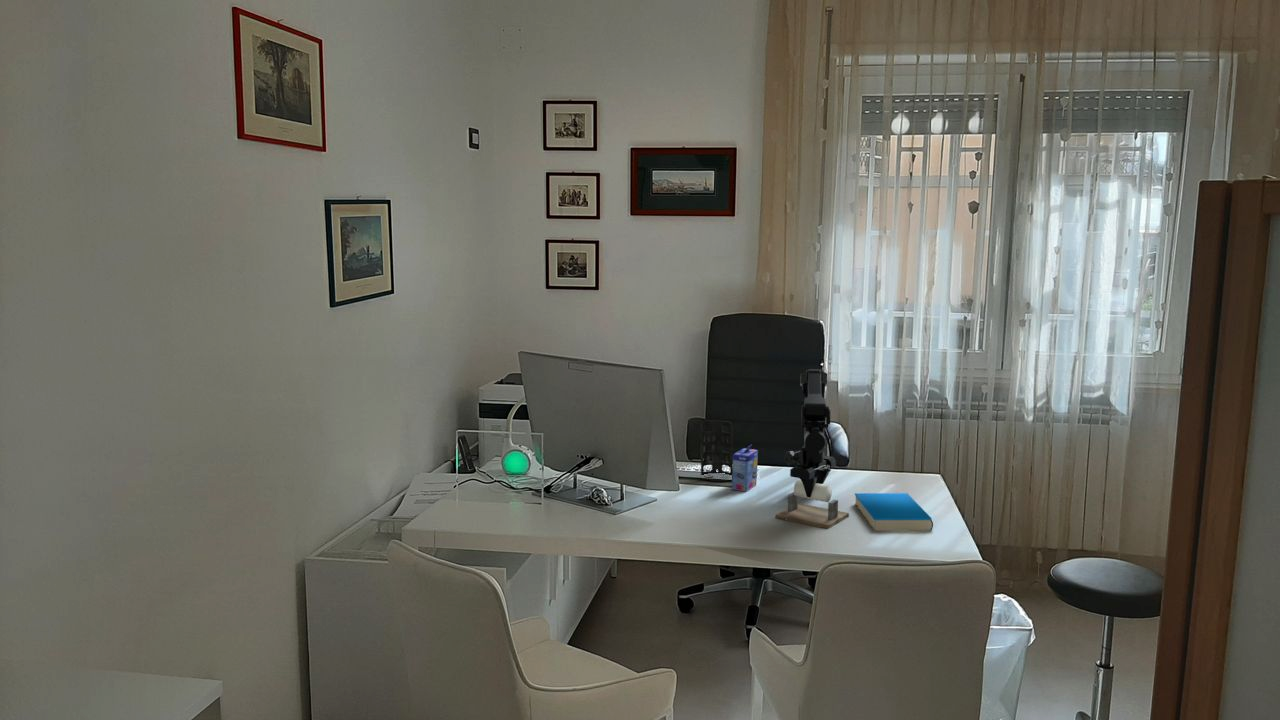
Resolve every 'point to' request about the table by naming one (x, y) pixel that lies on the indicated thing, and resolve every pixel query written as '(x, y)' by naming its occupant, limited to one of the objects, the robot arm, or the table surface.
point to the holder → (716, 447)
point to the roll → (814, 491)
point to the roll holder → (812, 513)
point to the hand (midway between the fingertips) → (812, 494)
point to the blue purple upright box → (744, 469)
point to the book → (893, 511)
